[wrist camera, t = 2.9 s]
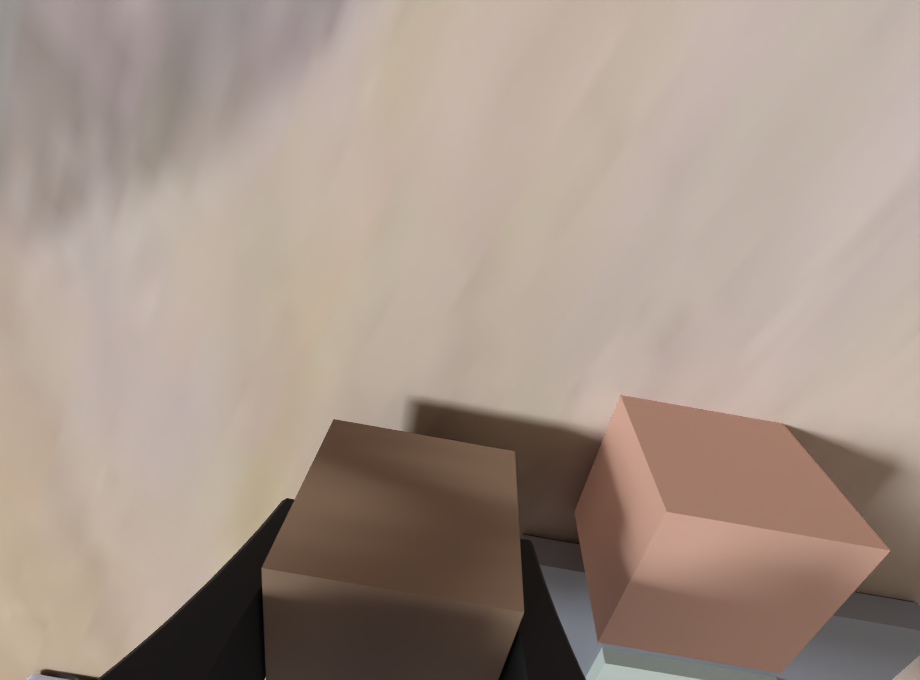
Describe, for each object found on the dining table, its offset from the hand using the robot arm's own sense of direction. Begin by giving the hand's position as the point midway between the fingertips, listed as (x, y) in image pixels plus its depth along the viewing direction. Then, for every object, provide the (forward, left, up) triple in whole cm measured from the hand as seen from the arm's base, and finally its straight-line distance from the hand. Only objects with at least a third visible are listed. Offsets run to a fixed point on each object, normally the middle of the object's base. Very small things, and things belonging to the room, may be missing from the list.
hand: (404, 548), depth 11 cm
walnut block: (0, 0, -2) cm, 2 cm away
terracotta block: (+7, +1, -3) cm, 8 cm away
